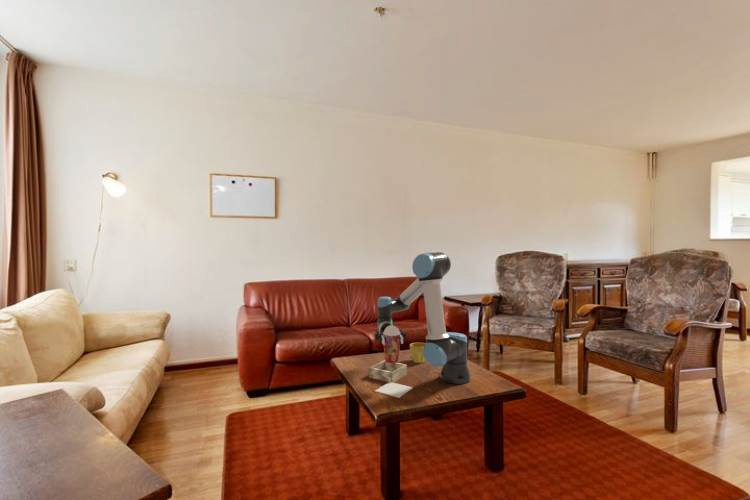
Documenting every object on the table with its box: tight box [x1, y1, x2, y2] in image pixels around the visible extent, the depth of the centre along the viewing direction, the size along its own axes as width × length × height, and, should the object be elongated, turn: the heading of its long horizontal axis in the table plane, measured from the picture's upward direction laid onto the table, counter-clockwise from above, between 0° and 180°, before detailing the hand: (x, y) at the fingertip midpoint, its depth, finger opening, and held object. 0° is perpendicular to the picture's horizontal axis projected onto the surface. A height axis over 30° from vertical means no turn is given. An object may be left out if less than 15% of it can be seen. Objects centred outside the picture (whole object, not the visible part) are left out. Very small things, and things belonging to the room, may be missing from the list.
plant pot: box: [409, 342, 426, 364], centre depth 216 cm, size 10×10×10 cm
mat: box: [374, 382, 414, 399], centre depth 175 cm, size 13×13×1 cm
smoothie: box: [383, 319, 401, 363], centre depth 177 cm, size 8×8×20 cm
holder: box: [368, 359, 408, 383], centre depth 193 cm, size 14×14×5 cm
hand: (393, 341), depth 172 cm, fingers closed on smoothie, 8 cm apart
